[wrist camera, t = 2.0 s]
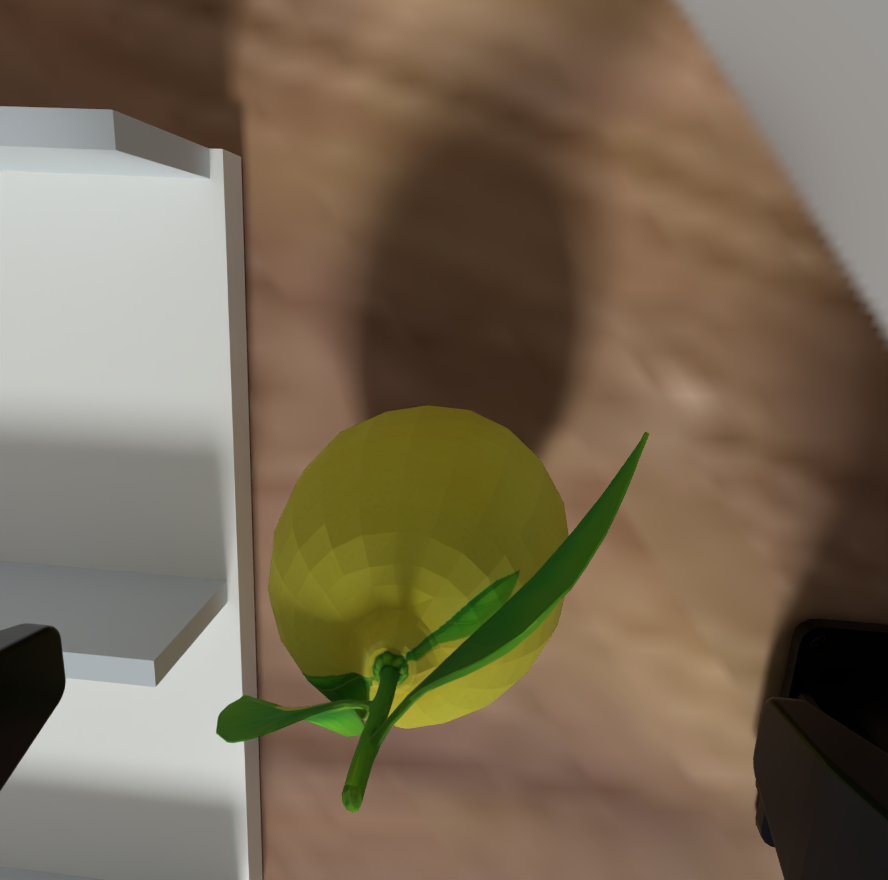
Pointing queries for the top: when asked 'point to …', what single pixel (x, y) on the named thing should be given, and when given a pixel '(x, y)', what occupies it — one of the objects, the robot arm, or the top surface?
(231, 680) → the white divided tray
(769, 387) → the top surface
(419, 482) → the lemon
